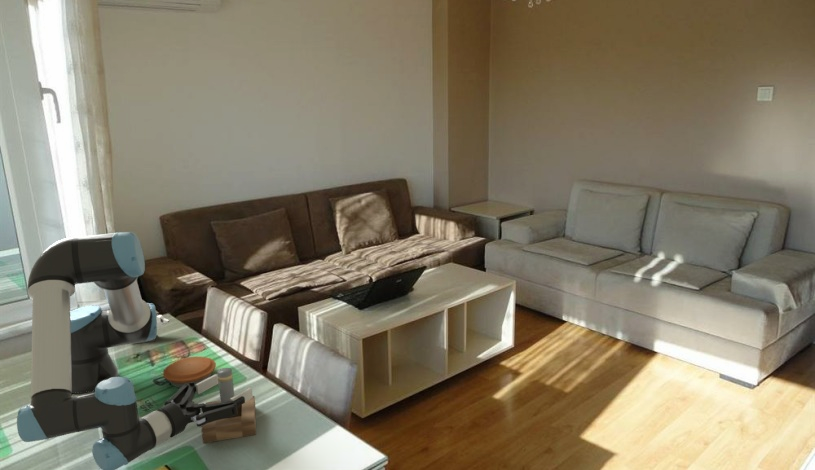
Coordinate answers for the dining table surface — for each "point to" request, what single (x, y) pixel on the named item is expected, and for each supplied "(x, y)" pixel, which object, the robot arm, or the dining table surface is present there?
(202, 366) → the pie
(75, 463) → the dining table surface
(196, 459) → the dining table surface
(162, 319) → the giant panda
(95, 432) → the dining table surface
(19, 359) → the dining table surface
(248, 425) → the wooden square frame
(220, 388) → the gray cylinder
